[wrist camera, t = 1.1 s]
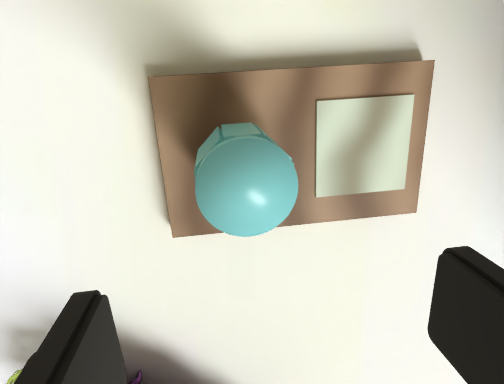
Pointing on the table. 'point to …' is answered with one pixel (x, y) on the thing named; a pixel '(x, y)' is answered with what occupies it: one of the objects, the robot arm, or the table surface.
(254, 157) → the teal cap
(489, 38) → the table surface
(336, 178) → the post board
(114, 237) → the table surface
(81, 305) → the robot arm
